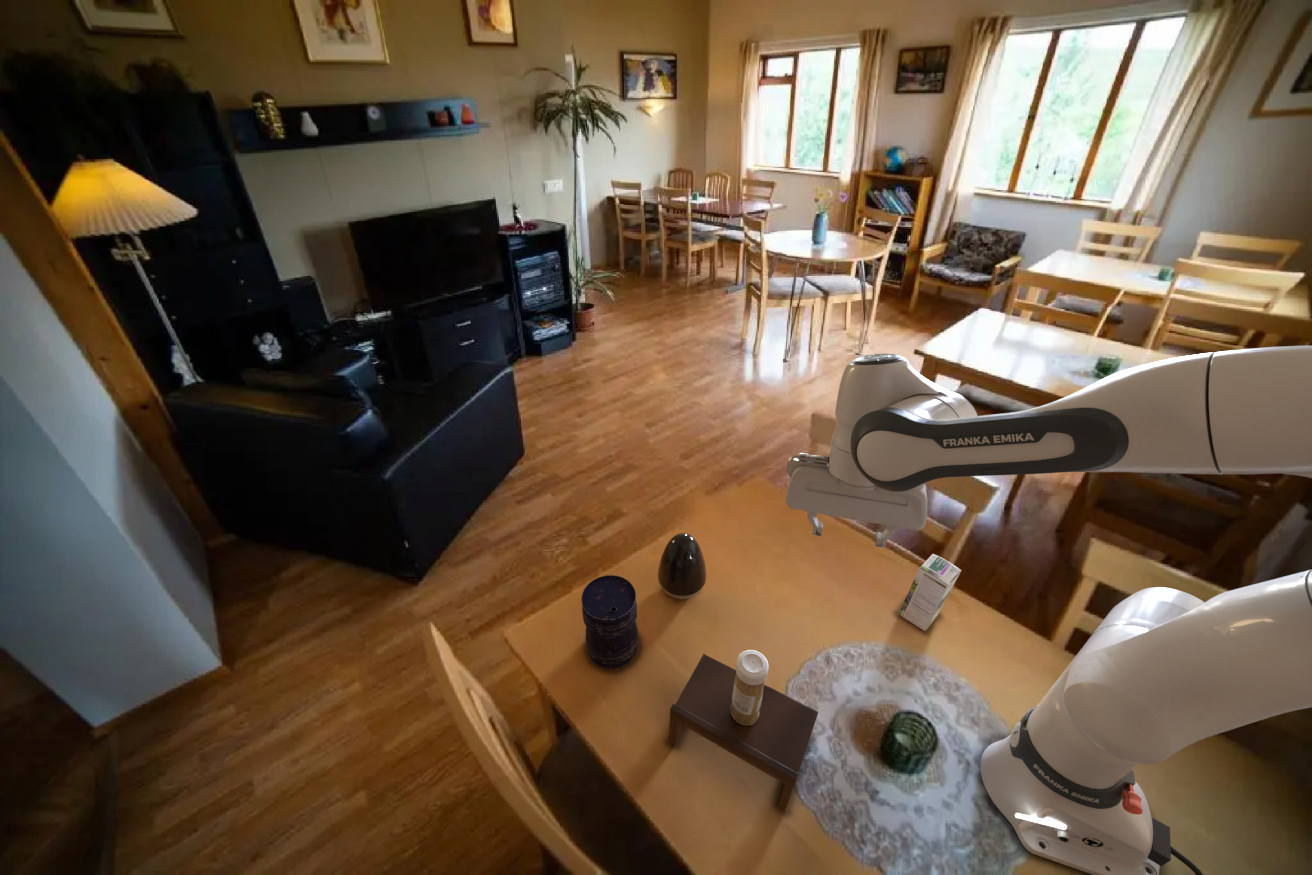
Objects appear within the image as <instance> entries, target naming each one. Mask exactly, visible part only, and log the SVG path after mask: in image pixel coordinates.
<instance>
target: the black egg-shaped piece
mask: <svg viewBox="0 0 1312 875" xmlns="http://www.w3.org/2000/svg"><path fill="white" fill-rule="evenodd" d="M657 580H658V584H659V585H660V587H661V588H662V590H663V591H664V593H666V594H667V595H668V596H669V597H671V598H674V599H677V600H689V599H691V598H693V597H695V596H697V595H698V593H699V592H700V591H701V590H702V589H703V587H704V586H705V585H706V582H707V567H706V561H705V556H704V553H703V551H702V549H701V547H700V545H699V542H698V541H697V540H696V539H695V537H693V536H692V535H690V534H689V533H686V532H681V533H677V534H675V535H674V536H672V537H671V539H670V540H669V541H668V542H667V544H666V545H665V547H664V549H663V552H662V554H661V557H660V560H659V564H658V569H657Z"/></svg>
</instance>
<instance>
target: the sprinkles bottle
mask: <svg viewBox="0 0 1312 875" xmlns="http://www.w3.org/2000/svg"><path fill="white" fill-rule="evenodd" d="M735 662H736V663H735V670H736V677H735V681H734V688H733V695H732V703H731V707H730V712H731V715H732V717H733V719H734V720H735V721H736V722H737V723H739V724H741V725H745V726H748V725H752V724H754V723H755V722H756V721H757V719H758V717H759V708H760V705H761V701H762V695H763V688H764V684H765V681H766V679H767V678H768V676H769V666H770V665H769V662H768V659H767V657H765V655H764V654H763V653H762V652H759V651H758V650H755V649H747V650H744V651H742V652H740V653H739V655H738V657H737V658H736V661H735Z"/></svg>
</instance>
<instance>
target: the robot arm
mask: <svg viewBox="0 0 1312 875" xmlns="http://www.w3.org/2000/svg"><path fill="white" fill-rule="evenodd" d="M834 416H835V422H836V424H835V429H834V431H833V433H832V436H831V440H830V449H829V456H827V455H820V454H819V455H818V454H813V455H812V454H809V453H803V452H800V453H798V454H796V455H792V456H791V457H790V458H789V459H788V460H787V467H786V472H787V476H788V477H789V478H790V479H789V482H788V486H787V490H786V495H785V504H786V505H787V507H788V508H789V509H791V510H796V511H800V512H801V511H802V512H807V513H806V514H807V515H806V517H807V519H808V521H809V523H810V525H811V526H812V532H811V535H812V536H817V537H822V536H823V529H824V523H825V522H823V521H819V520H818V517H817V515H818V514H819V515H824V516H831V517H836V518H841V519H846V520H847V519H848V520H854V521H859V522H865V523H871V524H876V525H881V526H886V528H885V529H884V530H883V531H882V532H881V531H876V535H875V540H874V547H877V548H881V549H886V547H887V541H888V540H890V539H891V538H892V537H893V536H894V535H896V534H897V532H898V528H900V529H905V530H911V531H917V532H918V531H920V530H922V529H923V528H925V527H926V524H927V520H928V506H929V503H928V501H929V500H928V494H927V487H926V483H928V482H931V481H934V480H938V479H944V478H961V477H963V478H964V477H989V476H991V477H992V476H993V477H994V476H1020V475H1043V474H1057V473H1138V474H1140V473H1141V474H1174V475H1175V474H1182V475H1185V474H1186V475H1272V474H1275V475H1276V474H1282V475H1291V476H1298V477H1304V478H1310V479H1312V345H1287V346H1285V345H1284V346H1268V347H1267V346H1266V347H1254V348H1243V349H1231V350H1223V351H1216V352H1215V351H1213V352H1204V353H1198V354H1191V355H1182V356H1178V357H1172V358H1167V359H1162V360H1158V361H1154V362H1149V363H1145V364H1141V365H1137V366H1133V367H1130V368H1126V369H1123V370H1120V371H1117V372H1114V373H1112V374H1110V375H1108V376H1105V377H1104V378H1102V379H1099V380H1098V381H1096V382H1094V383H1092V384H1089V385H1087V386H1086V387H1084V388H1082V389H1080V390H1077V391H1074V392H1073V393H1071V394H1069V395H1066V396H1064V397H1062V398H1059V399H1057V400H1054V401H1051V402H1048V403H1046V404H1043V405H1040V406H1037V407H1033V408H1028V409H1024V410H1019V411H1014V412H1013V411H1012V412H1005V413H995V414H984V415H979V413H978V411H977V409H976V407H975V406H974V404H973V402H971V401H970V400H969V399H968V398H967V397H965V396H964V395H962V394H961V393H959V392H957V391H954V390H949V389H947V388H944V387H943V386H940V385H939V384H937V383H935V382H933V381H931V380H929V379H928V378H927V377H925V376H923V375H922V374H921V373H919V372H918V371H917V370H916V369H915V368H914V367H913V366H912V365H911V362H909V360H908V359H907V358H906V357H904V356H902V355H899V354H897V353H896V354H895V353H874V354H867V355H863V356H859V357H857V358H855V359H852V360H851V361H849V362H848V363H847V364H846V366H845V368H844V369H843V372H842V375H841V378H840V382H839V386H838V391H837V397H836V403H835V410H834ZM1310 708H1311V709H1312V569H1308V570H1305V571H1300V572H1296V573H1293V574H1289V575H1285V576H1280V577H1277V578H1273V579H1269V580H1265V581H1262V582H1257V583H1254V584H1250V585H1246V586H1243V587H1238V588H1234V589H1231V590H1226V591H1224V592H1221V593H1219V594H1216V595H1214V596H1213V597H1211V598H1209V599H1208V600H1206V601H1203V600H1202V599H1200V598H1198V597H1196V596H1194V595H1192V594H1191V593H1188V592H1185V591H1182V590H1180V589H1176V588H1170V587H1163V586H1156V587H1155V586H1154V587H1147V588H1143V589H1140V590H1138V591H1136V592H1135V593H1133V594H1131V595H1129V596H1128V597H1126V598H1125V599H1123V600H1122V601H1120V602H1119V603H1118V604H1116V605H1115V606H1113V607H1112V609H1111V610H1110V611H1109V612H1108V613H1107V615H1105V618H1104V619H1103V620H1101V623H1100V624H1099V625H1098V626H1097V628H1096V629H1095V631H1094V632H1093V633H1092V634H1091V636H1090V637H1089V638H1088V639H1087V641H1086V642H1085V643H1084V645H1083V646H1082V648H1080V650H1079V651H1078V653H1077V654H1076V655H1075V657H1074V658H1073V659H1072V660H1071V661H1070V663H1069V664H1068V666H1067V667H1066V668H1065V669H1064V670H1063V672H1062V673H1061V675H1060V676H1059V677H1058V678H1057V680H1056V681H1055V682H1054V684H1053V685H1052V686H1051V687H1050V689H1049V690H1048V691H1047V693H1046V694H1045V695H1044V696H1043V697H1042V699H1041V700H1040V701H1039V703H1038V704H1037V705H1035V706H1032V707H1031V708H1030V709H1029V710H1028V711H1027V712H1026V713H1025V714H1024V715H1023V716H1022V718H1021V719H1020V720H1019V721H1017V723H1016V724H1015V726H1014V727H1013V729H1012V731H1011V734H1009V735H1008V736H1006V737H1005V738H1003V739H1001V740H997V741H995V742H992V743H991V744H989V745H988V746H987V747H986V748H985V749H984V751H983V752H982V755H981V758H980V764H979V766H980V770H979V771H980V776H981V780H982V783H983V786H984V788H985V790H986V792H987V794H988V796H989V798H990V799H991V801H992V803H993V804H994V805H995V807H996V808H997V809H998V811H999V812H1000V813H1001V814H1002V815H1003V816H1004V817H1005V819H1006V820H1007V821H1008V822H1009V824H1010V825H1011V826H1012V827H1013V829H1014V831H1015V833H1016V836H1017V837H1018V839H1019V841H1020V843H1021V844H1022V846H1023V848H1025V849H1026V851H1027V852H1029V853H1031V855H1035V856H1038V857H1041V858H1044V859H1047V860H1050V861H1051V862H1055V863H1058V864H1061V865H1064V866H1066V867H1069V868H1072V869H1076V870H1078V871H1080V872H1084V873H1087V874H1090V875H1160V870H1161V868H1160V867H1163V866H1164V865H1166V864H1167V863H1169V862H1171V860H1172V856H1174V857H1175V858H1176V859H1178V861H1180V862H1182V863H1183V864H1184V865H1185V866H1187V868H1189V869H1190V870H1191V872H1193V873H1194V874H1195V875H1204V873H1203V872H1202V871H1201V869H1199V867H1198V866H1197V865H1196V864H1195V863H1194V862H1192V861H1191V860H1190V859H1189V858H1188V857H1186V856H1185V855H1184V854H1183V853H1181V852H1180V851H1178V850H1177V849H1175V848H1174V847H1173V846H1172V844H1171V827H1170V826H1168V825H1167V824H1165V823H1163V822H1161V821H1159V820H1158V819H1156V818H1154V817H1152V814H1151V810H1150V806H1149V803H1148V801H1147V798H1146V796H1145V794H1144V792H1143V789H1142V788H1141V787H1140V785H1139V784H1138V782H1137V781H1136V777H1135V776H1136V775H1135V773H1134V768H1136V767H1137V766H1138V765H1154V764H1159V763H1162V762H1163V761H1166V760H1167V759H1168V758H1170V757H1172V756H1173V755H1176V754H1177V753H1178V752H1180V751H1181V750H1183V749H1185V748H1186V747H1189V746H1191V745H1193V744H1195V743H1197V742H1199V741H1202V740H1205V739H1208V738H1210V737H1214V736H1216V735H1219V734H1222V733H1225V732H1229V731H1232V730H1235V729H1237V728H1241V727H1244V726H1247V725H1250V724H1253V723H1256V722H1259V721H1263V720H1266V719H1269V718H1273V717H1276V716H1279V715H1283V714H1287V713H1290V712H1295V711H1300V710H1304V709H1310Z"/></svg>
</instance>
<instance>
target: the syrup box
mask: <svg viewBox="0 0 1312 875" xmlns="http://www.w3.org/2000/svg"><path fill="white" fill-rule="evenodd" d="M961 572H962V569H960V568H959V567H957V565H954V564H953V563H952V562H950V561H948V560H946V559H945V558H943V557H941V556H939V555H937V554H934V553H932V554H931V555H930V556H929V557H928V558H927V559H926V560H925V562H923V564H921V566H920V567H919V568H918V570H917V571H916V574H915V577H914V578H913V581H912V583H911V585H910V587H909V589H908V591H907V593H906V596H905V597H904V600H903V603H902V605H901V606H900V609H899V611H898V615H899V616H901V617H902V618H904V619H905V620H907V621H908V622H909V623H912V625H914V626H916V627H917V628H919V629H921V630H922V631H923V632H926V631H927V630H928V629H929V627H930V626H931V625H932V623H933V622H934V621H935V620H936V618H937V617H938V615H939V614H940V613H941V610H942V608H943V606H944V604H945V603H946V601H947V599H948V597H949V595H950V594H951V591H952V589H953V587H954V586H955V584H956V581H957V580H958V578H959V576H960V574H961Z"/></svg>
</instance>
